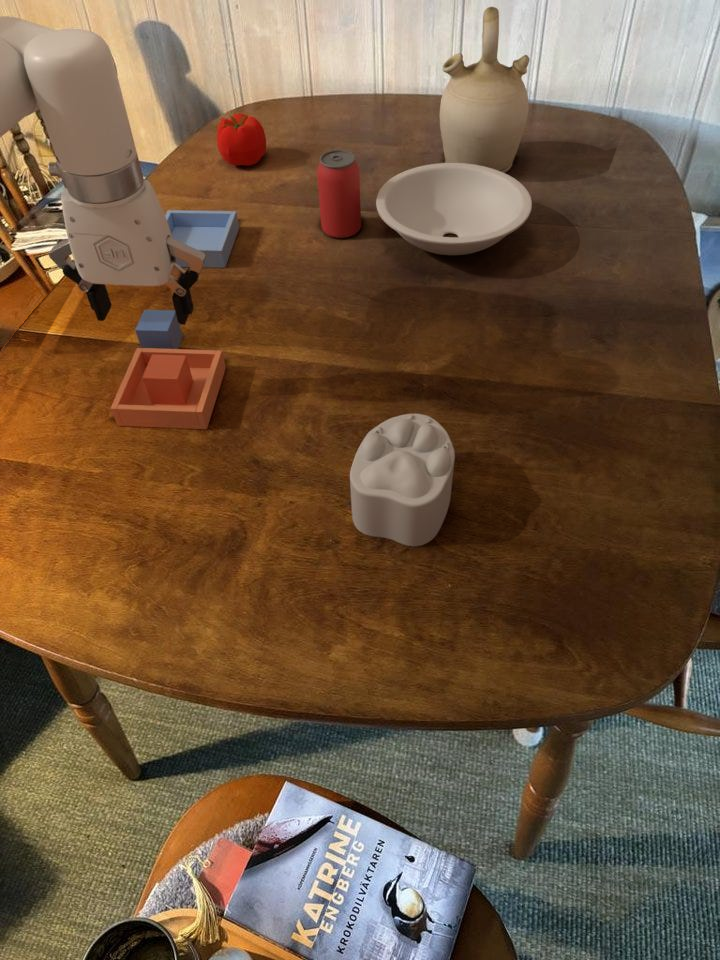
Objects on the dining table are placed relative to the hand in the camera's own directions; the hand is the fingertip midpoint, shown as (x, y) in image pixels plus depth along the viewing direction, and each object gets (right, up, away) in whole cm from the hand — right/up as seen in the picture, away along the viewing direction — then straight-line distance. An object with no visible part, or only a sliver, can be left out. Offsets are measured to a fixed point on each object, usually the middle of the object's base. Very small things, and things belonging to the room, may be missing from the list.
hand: (145, 315), depth 85 cm
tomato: (+3, +41, +51) cm, 65 cm away
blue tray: (-1, +19, +32) cm, 37 cm away
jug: (+47, +39, +47) cm, 77 cm away
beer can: (+22, +22, +34) cm, 47 cm away
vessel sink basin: (+40, +20, +32) cm, 55 cm away
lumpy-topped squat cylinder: (+30, -21, -2) cm, 37 cm away
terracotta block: (+1, -8, +9) cm, 12 cm away
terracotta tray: (+1, -8, +10) cm, 13 cm away
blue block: (-2, -1, +16) cm, 16 cm away
